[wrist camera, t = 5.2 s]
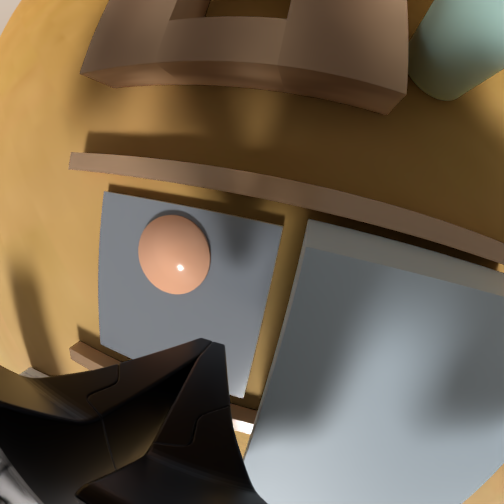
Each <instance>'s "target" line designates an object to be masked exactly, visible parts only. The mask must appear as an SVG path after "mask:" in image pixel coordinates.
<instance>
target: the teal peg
mask: <svg viewBox="0 0 504 504" xmlns="http://www.w3.org/2000/svg"><path fill="white" fill-rule="evenodd" d="M502 69H504V0H434V1H433V3H432V5H431V6H430V8H429V10H428V11H427V13H426V15H425V16H424V18H423V20H422V21H421V23H420V25H419V26H418V28H417V30H416V31H415V33H414V34H413V36H412V38H411V39H410V41H409V43H408V74H409V76H410V78H411V79H412V81H413V82H414V83H415V84H416V85H417V86H418V87H419V88H420V89H421V90H422V91H424V92H425V93H426V94H428V95H430V96H431V97H433V98H436V99H439V100H443V101H451V100H455V99H457V98H458V97H460V96H462V95H463V94H465V93H466V92H468V91H469V90H471V89H472V88H474V87H476V86H477V85H479V84H480V83H482V82H483V81H485V80H487V79H488V78H490V77H491V76H493V75H495V74H496V73H498V72H499V71H501V70H502Z"/></svg>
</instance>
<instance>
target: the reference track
mask: <svg viewBox="0 0 504 504" xmlns="http://www.w3.org/2000/svg"><path fill="white" fill-rule="evenodd" d="M69 169H72V170H82V171H91V172H100V173H108V174H116V175H124V176H132V177H139V178H146V179H153V180H160V181H166V182H173V183H179V184H185V185H191V186H197V187H203V188H209V189H214V190H220V191H225V192H231V193H236V194H241V195H246V196H251V197H256V198H261V199H266V200H271V201H276V202H281V203H285V204H290V205H294V206H299V207H303V208H308V209H312V210H316V211H321V212H325V213H329V214H333V215H337V216H342V217H346V218H350V219H354V220H358V221H361V222H365V223H369V224H373V225H377V226H380V227H384V228H388V229H391V230H395V231H399V232H402V233H406V234H409V235H413V236H416V237H420V238H423V239H426V240H430V241H433V242H436V243H440V244H443V245H446V246H449V247H453V248H456V249H459V250H462V251H465V252H468V253H471V254H474V255H477V256H480V257H483V258H486V259H489V260H492V261H495V262H497V263H500V264H503V265H504V243H502V242H499V241H497V240H494V239H492V238H489V237H487V236H484V235H481V234H479V233H476V232H473V231H471V230H468V229H465V228H462V227H459V226H457V225H454V224H451V223H448V222H445V221H442V220H439V219H436V218H433V217H430V216H427V215H424V214H421V213H417V212H414V211H411V210H408V209H404V208H401V207H398V206H394V205H391V204H387V203H384V202H380V201H376V200H373V199H369V198H365V197H362V196H358V195H354V194H350V193H346V192H342V191H338V190H334V189H330V188H325V187H321V186H317V185H312V184H308V183H303V182H298V181H294V180H289V179H284V178H279V177H274V176H269V175H264V174H258V173H253V172H247V171H241V170H235V169H229V168H223V167H217V166H210V165H203V164H196V163H189V162H181V161H173V160H164V159H155V158H146V157H135V156H124V155H111V154H96V153H76V152H71V156H70V162H69ZM283 227H284V226H282V225H278V224H273V223H269V222H264V221H260V220H255V219H250V218H246V217H241V216H236V215H232V214H227V213H222V212H217V211H212V210H207V209H202V208H197V207H192V206H187V205H182V204H176V203H171V202H166V201H161V200H155V199H150V198H144V197H139V196H133V195H127V194H121V193H116V192H110V191H104V197H103V206H102V216H101V228H100V244H99V271H98V300H99V327H100V342H101V345H103V346H105V347H107V348H110V349H112V350H114V351H116V352H118V353H120V354H122V355H124V356H127V357H129V358H131V359H136V358H139V357H142V356H146V355H149V354H152V353H155V352H159V351H162V350H165V349H168V348H171V347H174V346H177V345H180V344H183V343H187V342H189V341H192V340H195V339H198V338H204V339H208V340H211V341H212V342H218V343H221V344H224V345H225V349H226V362H227V374H228V385H229V395H232V396H236V397H239V398H244V395H245V391H246V387H247V383H248V379H249V375H250V371H251V367H252V363H253V359H254V355H255V351H256V347H257V342H258V338H259V334H260V330H261V326H262V321H263V317H264V313H265V308H266V304H267V300H268V295H269V291H270V287H271V282H272V278H273V273H274V269H275V264H276V260H277V255H278V250H279V246H280V241H281V237H282V232H283ZM69 349H70V355H71V359H72V360H74V361H75V362H77V363H79V364H80V365H82V366H84V367H86V368H87V369H89V370H95V369H99V368H103V367H107V366H111V365H115V364H118V366H119V363H122V362H120V361H118V360H116V359H114V358H112V357H110V356H108V355H106V354H104V353H102V352H100V351H98V350H96V349H94V348H92V347H90V346H88V345H86V344H84V343H83V342H81V341H79V342H78V343H76V344H75V345H73V346H72V347H70V348H69ZM230 406H231V407H230V408H231V415H232V422H233V428H234V430H236V431H240V432H243V433H247V434H251V432H252V428H253V425H254V422H255V418H256V415H257V412H258V411H256V410H252V409H248V408H245V407H241V406H237V405H234V404H231V403H230Z"/></svg>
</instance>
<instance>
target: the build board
mask: <svg viewBox="0 0 504 504" xmlns="http://www.w3.org/2000/svg"><path fill="white" fill-rule="evenodd" d="M209 3H210V0H109V2H108V4H107V6H106V8H105V10H104V12H103V14H102V17H101V19H100V21H99V23H98V26H97V28H96V30H95V33H94V35H93V38H92V40H91V43H90V45H89V48H88V51H87V53H86V56H85V59H84V62H83V65H82V68H81V71H80V74H81V75H84V76H86V77H89V78H91V79H93V80H96V81H98V82H101V83H103V84H105V85H108V86H110V87H112V88H119V87H131V86H148V85H213V86H230V87H243V88H253V89H262V90H270V91H278V92H285V93H291V94H297V95H303V96H309V97H314V98H319V99H324V100H329V101H334V102H338V103H343V104H347V105H351V106H355V107H359V108H363V109H366V110H370V111H374V112H377V113H380V114H384V115H388V114H389V113H390V111H391V110H392V109H393V108H394V107H395V106H396V105H397V104H398V103H399V102H400V101H401V100H402V99H403V98H404V97H405V96H406V95H407V81H408V11H407V0H291V3H290V8H289V12H288V17H287V19H283V18H270V17H247V16H223V17H204V16H205V14H206V11H207V8H208V5H209Z"/></svg>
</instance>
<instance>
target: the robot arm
mask: <svg viewBox="0 0 504 504" xmlns="http://www.w3.org/2000/svg"><path fill="white" fill-rule="evenodd" d="M230 407H231V406H230V396H229V385H228V374H227V362H226V349H225V345H224V344H221V343H218V342H212V341H211V340H208V339H204V338H198V339H195V340H192V341H189V342H187V343H183V344H180V345H177V346H174V347H171V348H168V349H165V350H162V351H159V352H155V353H152V354H149V355H146V356H142V357H139V358H136V359H132V360H129V361H125V362H122V363H119V366H118V364H115V365H111V366H107V367H103V368H99V369H95V370H90V371H85V372H79V373H73V374H66V375H59V376H51V377H42V378H30V377H25V376H22V375H19V374H16V373H14V372H12V371H10V370H8V369H6V368H4V367H2V366H1V365H0V504H268V503H267V502H266V501H265V500H264V499H263V498H262V497H260V495H259V494H258V493H257V492H256V490H255V488H254V487H253V485H252V483H251V480H250V478H249V475H248V472H247V470H246V467H245V464H244V461H243V458H242V455H241V452H240V449H239V446H238V443H237V440H236V436H235V432H234V428H233V422H232V415H231V408H230Z"/></svg>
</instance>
